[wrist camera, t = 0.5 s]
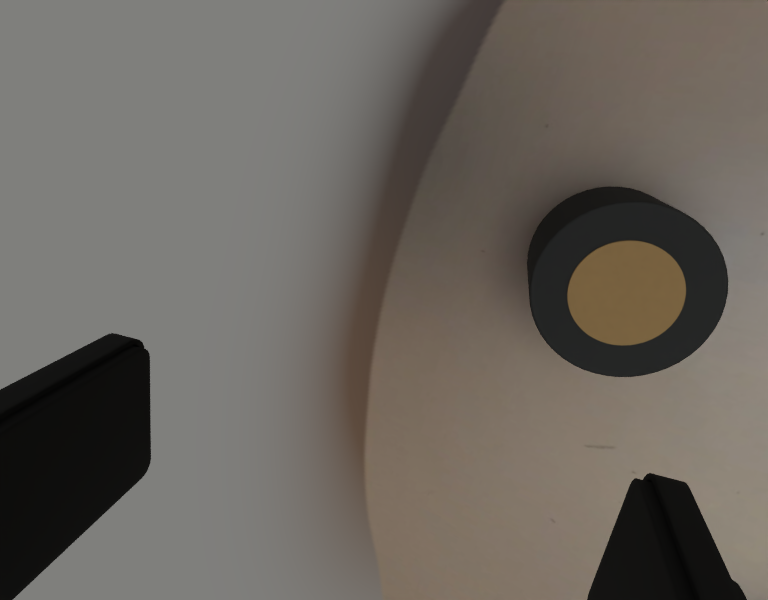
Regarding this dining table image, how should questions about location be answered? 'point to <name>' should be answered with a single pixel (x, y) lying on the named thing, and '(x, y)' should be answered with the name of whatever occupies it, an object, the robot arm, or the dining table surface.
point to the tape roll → (624, 282)
